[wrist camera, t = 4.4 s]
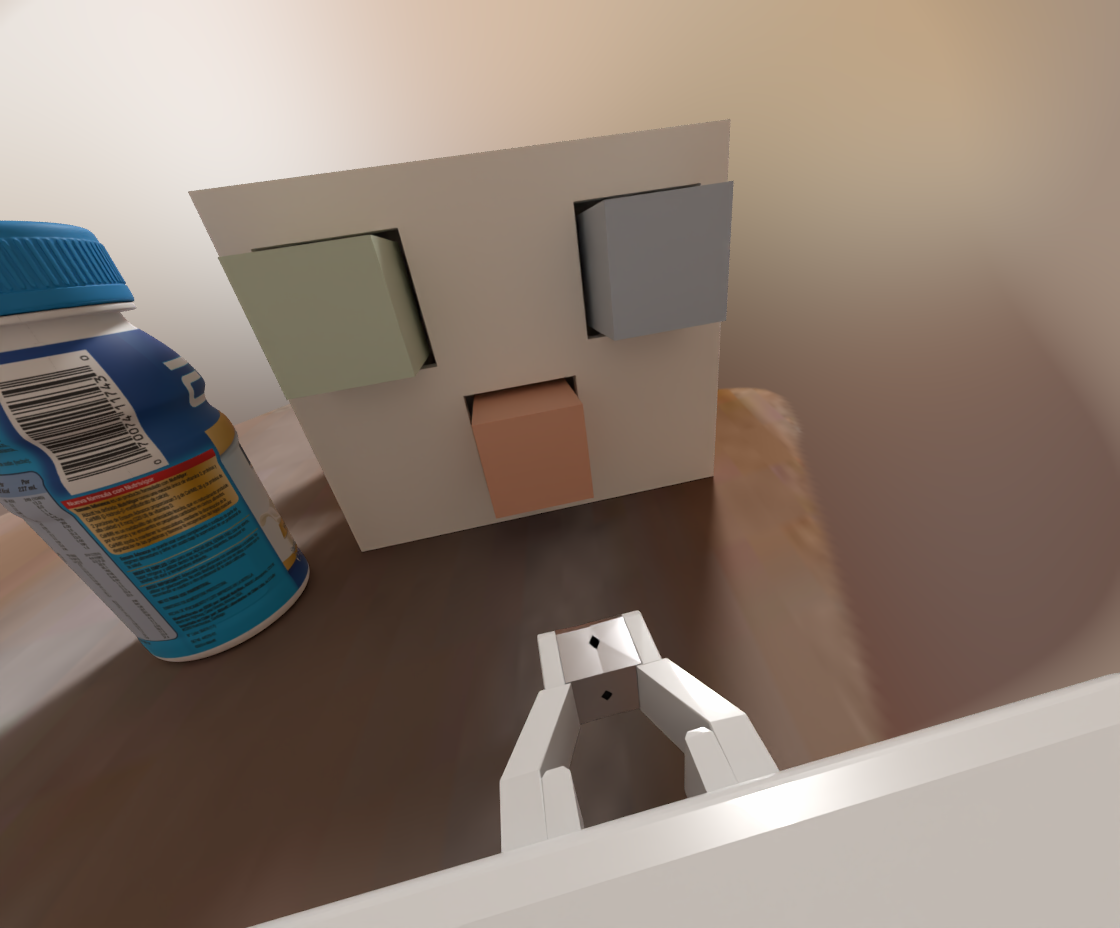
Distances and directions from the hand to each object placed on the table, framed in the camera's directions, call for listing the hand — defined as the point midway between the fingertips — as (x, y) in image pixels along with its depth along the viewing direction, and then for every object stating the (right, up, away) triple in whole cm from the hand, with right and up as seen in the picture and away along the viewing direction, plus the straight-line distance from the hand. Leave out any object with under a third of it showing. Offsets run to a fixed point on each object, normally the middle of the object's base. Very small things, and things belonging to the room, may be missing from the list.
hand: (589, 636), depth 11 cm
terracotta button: (-2, +4, +15) cm, 16 cm away
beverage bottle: (-20, -4, +13) cm, 25 cm away
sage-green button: (-11, +10, +10) cm, 18 cm away
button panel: (-3, +4, +22) cm, 22 cm away
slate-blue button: (+4, +13, +11) cm, 18 cm away
